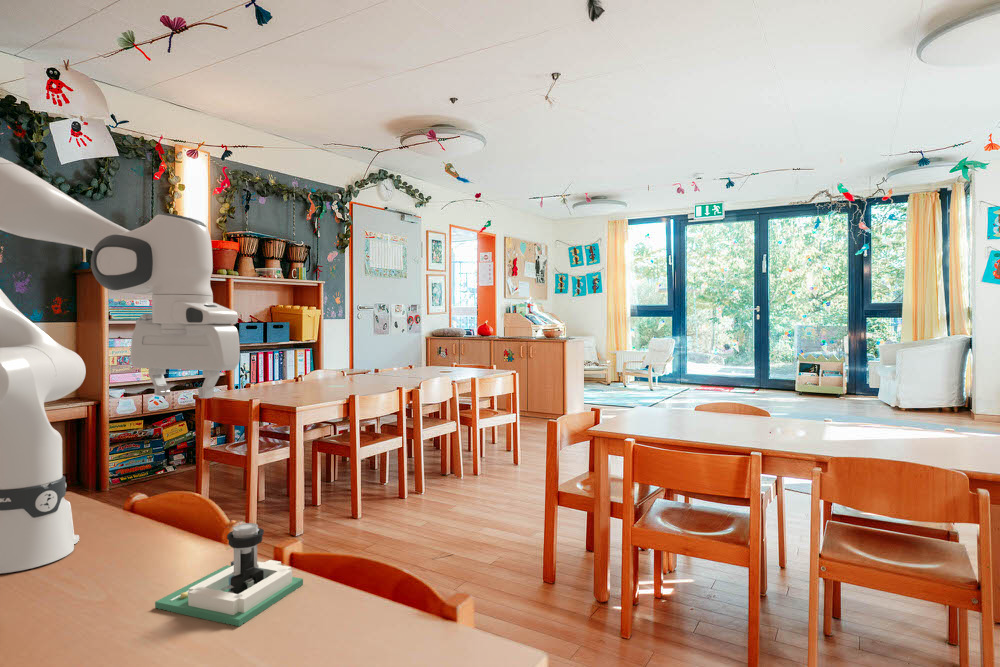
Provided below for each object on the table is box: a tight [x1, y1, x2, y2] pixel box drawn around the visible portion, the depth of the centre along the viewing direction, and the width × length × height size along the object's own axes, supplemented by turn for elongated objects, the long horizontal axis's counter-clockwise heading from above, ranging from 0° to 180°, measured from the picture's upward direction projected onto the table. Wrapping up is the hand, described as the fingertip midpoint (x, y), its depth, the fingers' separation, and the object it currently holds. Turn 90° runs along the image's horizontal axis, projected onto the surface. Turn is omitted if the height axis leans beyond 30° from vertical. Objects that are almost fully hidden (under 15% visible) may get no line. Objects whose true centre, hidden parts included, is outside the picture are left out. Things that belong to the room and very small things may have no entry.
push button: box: [221, 522, 265, 594], centre depth 90 cm, size 7×5×10 cm
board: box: [154, 559, 304, 627], centre depth 91 cm, size 16×14×3 cm
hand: (183, 396), depth 95 cm, fingers open, 8 cm apart
